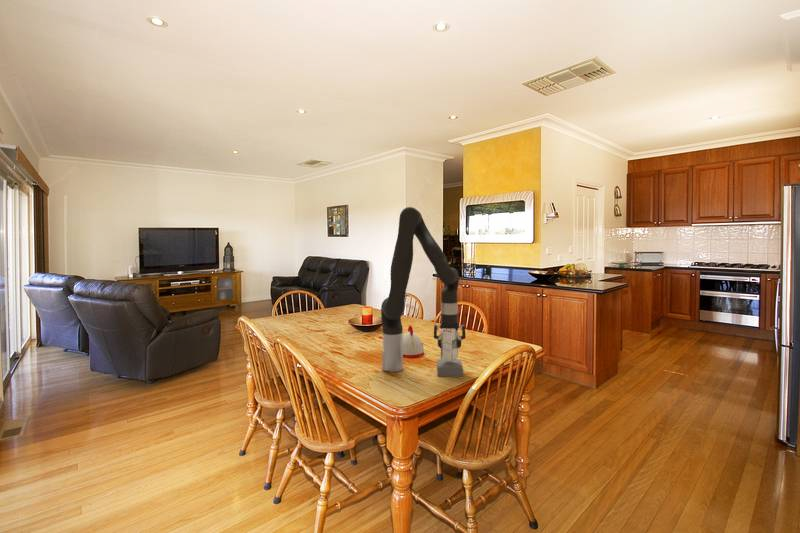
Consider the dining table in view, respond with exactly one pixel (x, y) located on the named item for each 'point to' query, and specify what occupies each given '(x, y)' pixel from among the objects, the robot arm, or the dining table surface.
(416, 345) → the kitchen timer
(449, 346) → the syrup box
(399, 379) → the dining table surface
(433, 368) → the dining table surface
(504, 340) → the dining table surface
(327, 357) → the dining table surface
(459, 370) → the grey block
